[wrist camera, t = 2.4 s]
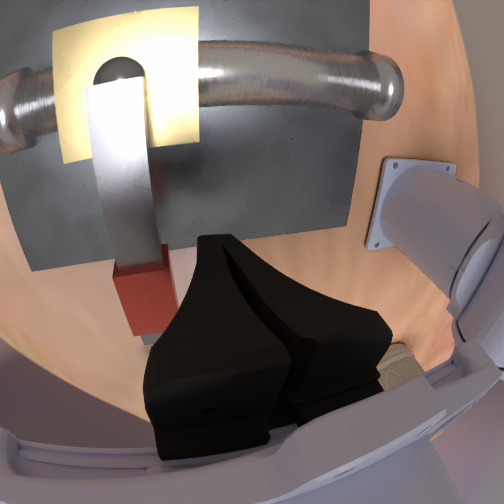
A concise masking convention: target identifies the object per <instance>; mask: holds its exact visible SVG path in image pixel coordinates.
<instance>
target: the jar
mask: <svg viewBox="0 0 504 504" xmlns="http://www.w3.org/2000/svg"><path fill="white" fill-rule="evenodd" d="M376 368H377V369H378V371H379V372H380V375H381V377H380V378H379V379H377V380H378V381H379V383H380V384H381V386H382V388H383V389H384V391H386V390H388V389H390V388H392V387H395V386H397V385H399V384H401V383H403V382H405V381H407V380H410V379H412V378H415V377H417V376H419V375H421V374H423V373H425V371H424V370H423V368H422V367H421V366H420V364H419V363H418V361H417V360H416V359H415V356H414V354H413V353H412V352H411V350H410V349H409V348H407V347H406V346H405V345H404V344H401V343H398V344H392V345H390V346H389V348H388V350H387V352H386V353H385V355H384V356H383V358H382V359H381V361H380V362H379V364H378V365H377V367H376ZM444 430H445V428H444V429H443V430H441V431H440V432H439V433H437V434H436V435H434V436H433V437H432V438H430V441H431V440H432V439H434V438H435V437H437V436H438V435H439V434H440V433H442V432H443V431H444Z"/></svg>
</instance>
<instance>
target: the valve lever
mask: <svg viewBox="0 0 504 504" xmlns="http://www.w3.org/2000/svg"><path fill="white" fill-rule="evenodd" d="M145 84H146V72H145V70H144V68H143V66H142V65H141V64H140V63H139V62H137V61H136V60H134V59H132V58H130V57H126V56H119V57H114V58H111V59H109V60H107V61H106V62H104V63H103V64H102V65H101V66H100V67H99V69H98V70H97V72H96V74H95V76H94V79H93V86H89V87H85V102H86V113H87V122H88V131H89V138H90V145H91V152H92V159H93V165H94V171H95V176H96V181H97V187H98V192H99V197H100V201H101V206H102V210H103V215H104V219H105V223H106V227H107V231H108V235H109V239H110V243H111V247H112V250H113V254H114V257H115V264H114V270H113V277H112V278H113V281H114V284H115V287H116V290H117V293H118V296H119V299H120V301H121V304H122V307H123V310H124V312H125V315H126V318H127V320H128V323H129V325H130V328H131V330H132V333H133V335H134V336H139V335H141V338H142V340H143V343H144V345H149V344H155V342H156V341H157V340H158V339H159V337H160V336H161V335H162V334H163V332H164V331H165V330H166V328H167V327H168V325H169V324H170V322H171V320H172V319H173V317H174V316H175V314H176V313H177V311H178V309H179V303H178V298H177V293H176V288H175V282H174V277H173V271H172V266H171V260H170V254H169V248H168V243H167V244H162V241H161V236H160V229H159V223H158V217H157V210H156V203H155V195H154V188H153V180H152V171H151V162H150V153H149V142H148V131H147V117H146V101H145Z"/></svg>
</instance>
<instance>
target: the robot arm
mask: <svg viewBox="0 0 504 504" xmlns="http://www.w3.org/2000/svg"><path fill="white" fill-rule="evenodd" d="M394 163H395V165H394ZM393 165H394V166H393ZM455 172H456V165H455V164H453V163H449V162H440V161H429V160H418V159H404V158H386V159H385V161H384V163H383V167H382V173H381V178H380V183H379V188H378V193H377V198H376V203H375V207H374V212H373V216H372V221H371V225H370V229H369V233H368V237H367V241H366V248H367V249H368V250H369V251H371V250H377V249H382V248H387V247H393V246H396V247H397V248H398V249H399V250H400V251H401V252H402V253H403V254H404V255H406V256H407V257H408V258H409V259H410V260H411V261H412V262H413V263H414V264H415V265H416V266H417V267H418V268H419V269H420V270H421V271H422V272H423V273H424V274H425V275H426V276H427V277H428V278H429V279H430V280H431V281H432V282H433V283H434V284H435V285H436V286H437V287H438V288H439V289H440V290H441V291H442V292H443V293H444V294H445V295H446V296H447V297H448V298H449V299H450V302H449V304H448V306H447V308H446V309H447V310H448V312H449V313H450V314H451V315H452V316H453V317H454V319H453V321H452V326H451V327H452V334H453V338H454V340H455V343H456V346H457V350H456V351H455V352H454V353H453V355H452V356H451V358H450V359H449V360H447V361H445V362H443V363H441V364H440V365H438V366H436V367H434V368H432V369H430V370H429V371H427V372H425V373H423V374H421V375H419V376H417V377H415V378H412V379H410V380H407V381H405V382H403V383H401V384H399V385H397V386H395V387H392V388H390V389H388V390H386V391H384V389H383V388H382V386H381V384H380V383H379V381H378V380H377V379H379V378H380V377H381V375H380V372H379V371H378V369H377V368H376V367H377V365H378V364H379V362H380V361H381V359H382V358H383V356H384V355H385V353H386V352H387V350H388V348H389V346H390V345H391V341H392V337H393V334H392V330H391V329H390V327H389V326H388V325H387V324H386V322H385V321H384V320H383V318H382V317H381V316H380V315H379V313H378V312H377V311H374V310H370V309H366V308H362V307H358V306H354V305H351V304H348V303H345V302H342V301H339V300H336V299H333V298H331V297H328V296H326V295H323V294H321V293H319V292H316V291H314V290H312V289H310V288H308V287H306V286H304V285H302V284H300V283H298V282H296V281H294V280H293V279H291V278H289V277H287V276H286V275H284V274H283V273H281V272H279V271H278V270H276V269H275V268H274V267H272V266H271V265H269V264H268V263H266V262H265V261H264V260H262V259H261V258H260V257H259V256H257V255H256V254H255V253H254V252H252V251H251V250H250V249H249V248H247V247H246V246H245V245H244V244H243V243H242V242H240V241H239V240H238V239H237V238H236V237H234V236H233V235H232V234H214V235H200V236H199V237H198V238H197V263H196V267H195V270H194V274H193V277H192V280H191V283H190V286H189V288H188V291H187V293H186V295H185V297H184V299H183V301H182V303H181V305H180V307H179V309H178V311H177V313H176V314H175V316H174V317H173V319H172V320H171V322H170V324H169V325H168V327H167V328H166V330H165V331H164V332H163V334H162V335H161V336H160V337H159V339H158V340H157V341H156V342H155V344H154V345H153V346H152V348H151V351H150V354H149V358H148V361H147V365H146V369H145V374H144V381H143V395H144V403H145V410H146V412H147V414H148V417H149V419H150V421H151V423H152V426H153V428H154V433H155V439H156V446H157V447H154V448H129V449H105V448H81V447H67V446H57V445H48V444H41V443H34V442H28V441H22V440H17V438H16V437H15V436H14V435H13V434H11V433H10V432H9V431H7V430H5V429H3V428H1V427H0V504H467V503H466V502H465V500H464V498H463V496H462V494H461V493H460V491H459V489H458V487H457V485H456V484H455V482H454V480H453V478H452V476H451V475H450V473H449V471H448V469H447V468H446V466H445V464H444V462H443V461H442V459H441V458H440V456H439V454H438V452H437V451H436V449H435V447H434V446H433V444H432V442H431V441H430V438H432V437H433V436H434V435H436V434H437V433H439V432H440V431H441V430H443V429H444V428H445V427H446V426H448V425H449V424H450V423H452V422H453V421H454V420H455V419H457V418H458V417H459V416H461V415H462V414H463V413H464V412H466V411H467V410H468V409H469V408H470V407H471V406H473V405H474V404H475V403H476V402H477V401H478V400H479V399H480V398H481V397H482V396H483V395H484V394H485V393H486V392H487V391H488V390H489V389H490V388H491V387H492V386H493V385H494V384H495V383H496V382H497V381H498V380H499V379H502V380H504V208H503V207H502V205H501V204H500V203H499V202H497V201H496V200H495V199H493V198H491V197H490V196H488V195H487V194H485V193H484V192H482V191H480V190H479V189H477V188H476V187H474V186H472V185H471V184H469V183H467V182H466V181H464V180H462V179H461V178H459V177H457V176H455Z"/></svg>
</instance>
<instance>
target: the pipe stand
mask: <svg viewBox="0 0 504 504" xmlns="http://www.w3.org/2000/svg"><path fill="white" fill-rule="evenodd" d="M369 19H370V0H0V182H1V185H2V189H3V193H4V196H5V200H6V203H7V207H8V210H9V213H10V216H11V219H12V222H13V225H14V228H15V231H16V233H17V236H18V239H19V241H20V244H21V247H22V249H23V252H24V254H25V257H26V259H27V261H28V264H29V266H30V268H31V271H32V272H33V271H39V270H45V269H51V268H57V267H64V266H70V265H76V264H82V263H89V262H95V261H101V260H108V259H114V258H115V257H114V254H113V250H112V247H111V243H110V239H109V235H108V231H107V227H106V223H105V219H104V215H103V210H102V206H101V201H100V197H99V192H98V187H97V181H96V176H95V171H94V165H93V159H92V152H91V145H90V138H89V131H88V122H87V113H86V102H85V87H89V86H93V79H94V76H95V74H96V72H97V70H98V69H99V67H100V66H101V65H102V64H103V63H104V62H106V61H107V60H109V59H111V58H114V57H119V56H126V57H130V58H132V59H134V60H136V61H137V62H139V63H140V64H141V65H142V66H143V68H144V70H145V72H146V84H145V101H146V117H147V131H148V142H149V153H150V162H151V171H152V180H153V188H154V195H155V203H156V210H157V217H158V223H159V229H160V236H161V241H162V244H167V243H168V248H169V250H174V249H181V248H188V247H195V246H197V238H198V237H199V236H200V235H214V234H232V235H233V236H234V237H236V238H237V239H238V240H245V239H252V238H260V237H267V236H275V235H282V234H290V233H297V232H305V231H313V230H320V229H328V228H336V227H344V226H346V225H347V220H348V215H349V209H350V204H351V199H352V193H353V187H354V181H355V175H356V168H357V162H358V155H359V148H360V140H361V132H362V124H363V119H365V120H373V121H386V120H389V119H390V118H392V117H393V116H394V115H395V114H396V113H397V111H398V110H399V108H400V106H401V103H402V100H403V96H404V80H403V76H402V73H401V70H400V68H399V66H398V65H397V64H396V62H395V61H394V60H392V59H391V58H390V57H388V56H385V55H381V54H378V53H374V52H371V51H369Z"/></svg>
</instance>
